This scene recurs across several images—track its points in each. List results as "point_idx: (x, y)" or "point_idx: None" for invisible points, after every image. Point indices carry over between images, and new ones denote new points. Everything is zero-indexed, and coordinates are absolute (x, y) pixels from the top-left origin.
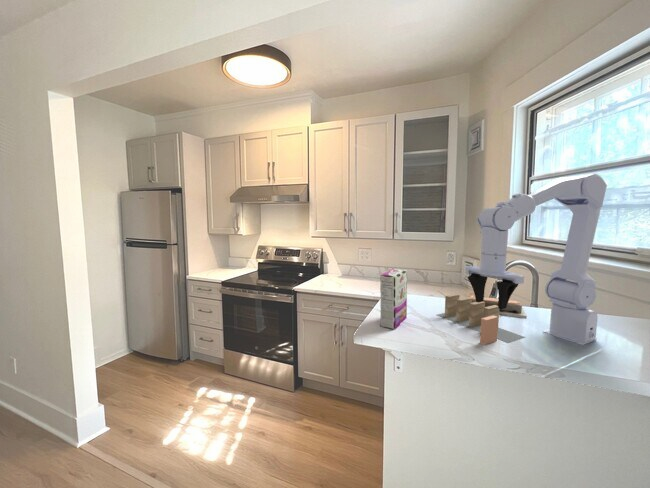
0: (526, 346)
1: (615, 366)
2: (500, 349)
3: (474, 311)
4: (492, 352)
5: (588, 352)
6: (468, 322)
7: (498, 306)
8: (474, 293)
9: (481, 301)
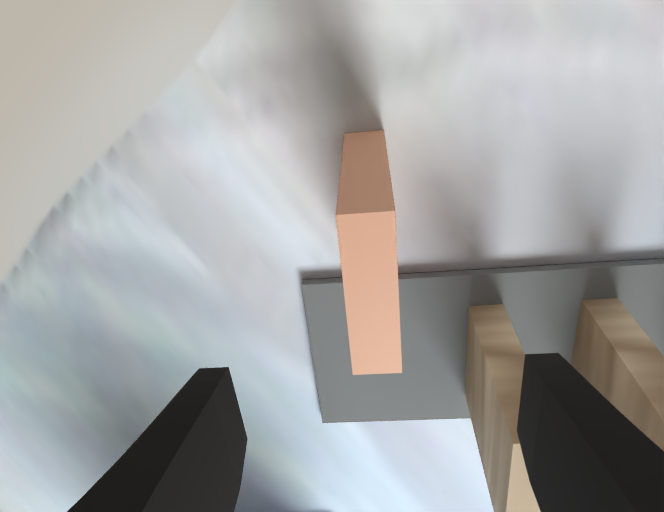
0: (250, 344)
1: (11, 459)
2: (268, 184)
3: (637, 392)
4: (250, 95)
5: None
6: (652, 338)
7: (215, 380)
8: (643, 435)
9: (521, 410)
